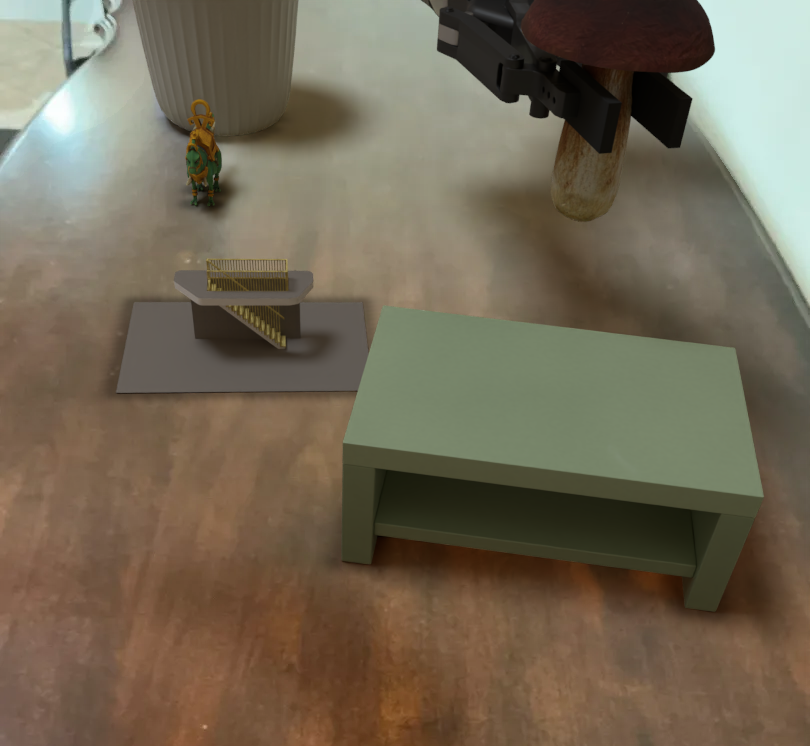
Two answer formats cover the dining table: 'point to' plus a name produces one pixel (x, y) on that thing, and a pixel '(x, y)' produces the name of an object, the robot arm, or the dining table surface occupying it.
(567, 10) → the decorative mushroom
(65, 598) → the dining table surface
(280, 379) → the platform
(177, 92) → the canister
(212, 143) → the figurine
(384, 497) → the shelf
